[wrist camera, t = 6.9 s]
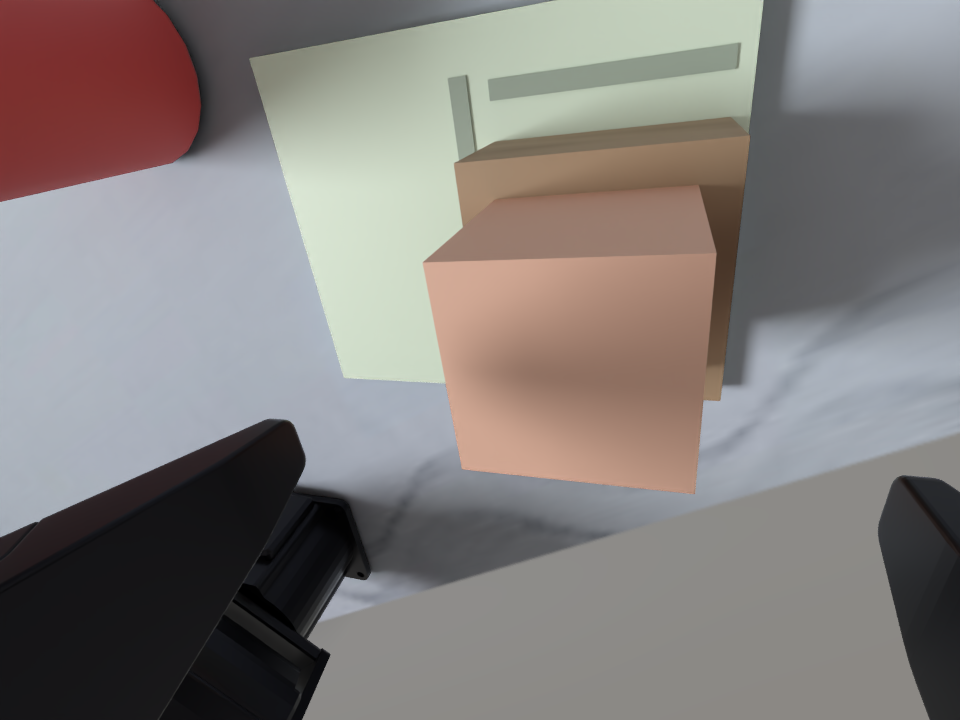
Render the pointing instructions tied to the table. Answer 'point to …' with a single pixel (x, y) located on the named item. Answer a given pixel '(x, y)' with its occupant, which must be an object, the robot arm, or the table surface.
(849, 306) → the table surface
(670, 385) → the cube
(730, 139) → the base block
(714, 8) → the cream mat
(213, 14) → the table surface
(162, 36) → the beer can
